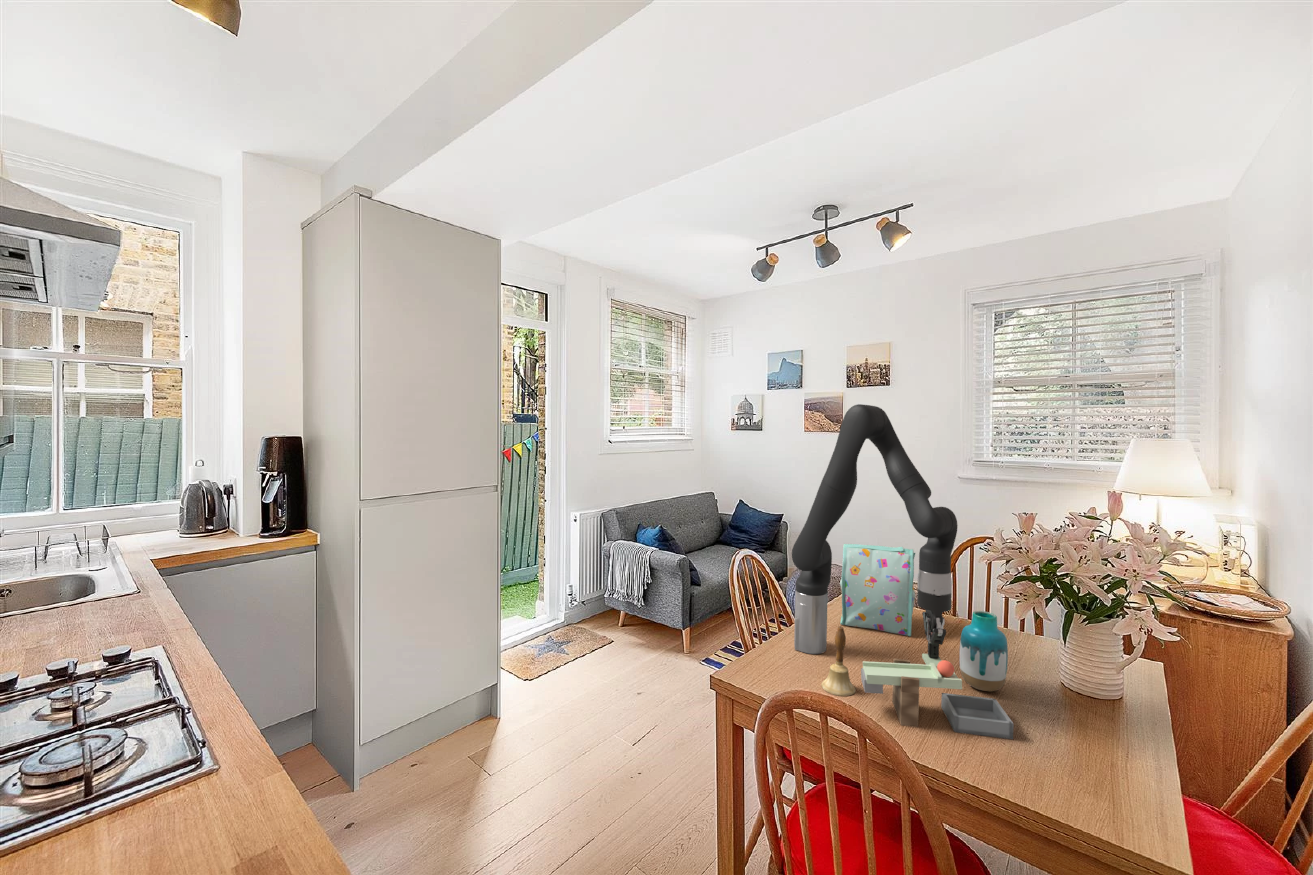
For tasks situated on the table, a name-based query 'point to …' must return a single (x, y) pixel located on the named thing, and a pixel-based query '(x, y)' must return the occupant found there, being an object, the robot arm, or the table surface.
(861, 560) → the lunch bag
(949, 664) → the ball
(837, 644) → the hand bell
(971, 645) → the vase
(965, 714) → the tray
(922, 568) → the robot arm
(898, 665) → the lever
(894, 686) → the fulcrum
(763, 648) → the table surface
